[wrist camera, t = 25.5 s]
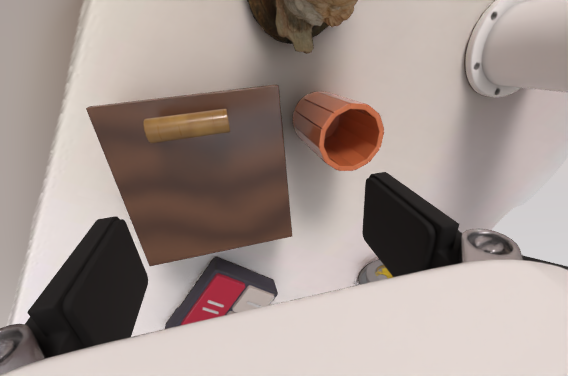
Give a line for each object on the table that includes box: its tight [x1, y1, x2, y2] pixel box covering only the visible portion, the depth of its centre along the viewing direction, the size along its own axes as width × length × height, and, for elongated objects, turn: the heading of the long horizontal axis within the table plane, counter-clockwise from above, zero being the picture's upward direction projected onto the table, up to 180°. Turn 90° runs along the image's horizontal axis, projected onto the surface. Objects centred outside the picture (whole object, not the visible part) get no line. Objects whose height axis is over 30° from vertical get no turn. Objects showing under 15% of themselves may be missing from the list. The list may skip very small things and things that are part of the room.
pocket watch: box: [359, 260, 393, 285], centre depth 44 cm, size 8×8×10 cm
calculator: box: [165, 257, 278, 329], centre depth 42 cm, size 11×4×15 cm
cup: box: [293, 91, 384, 171], centre depth 30 cm, size 6×6×10 cm
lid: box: [86, 85, 292, 266], centre depth 25 cm, size 17×16×5 cm
